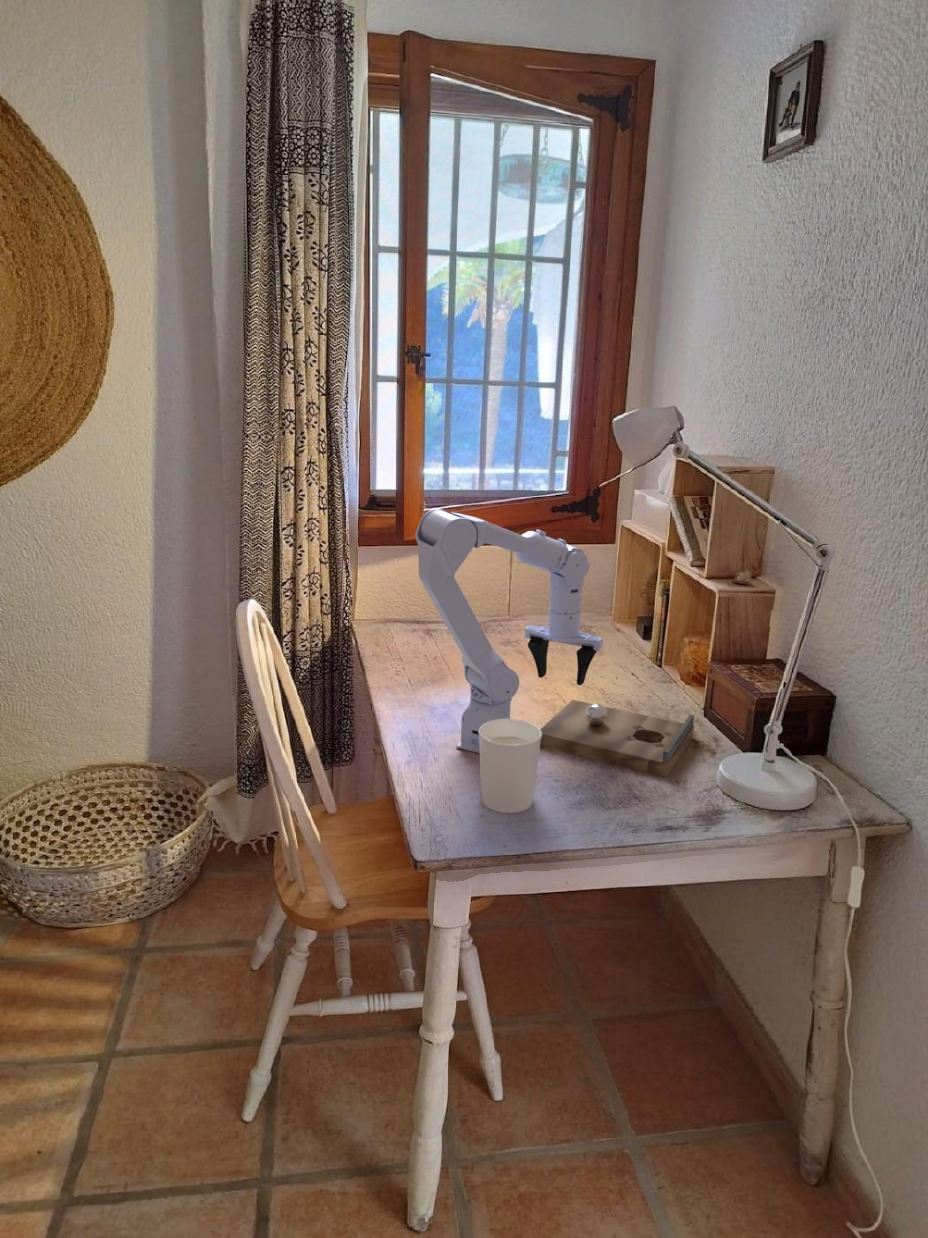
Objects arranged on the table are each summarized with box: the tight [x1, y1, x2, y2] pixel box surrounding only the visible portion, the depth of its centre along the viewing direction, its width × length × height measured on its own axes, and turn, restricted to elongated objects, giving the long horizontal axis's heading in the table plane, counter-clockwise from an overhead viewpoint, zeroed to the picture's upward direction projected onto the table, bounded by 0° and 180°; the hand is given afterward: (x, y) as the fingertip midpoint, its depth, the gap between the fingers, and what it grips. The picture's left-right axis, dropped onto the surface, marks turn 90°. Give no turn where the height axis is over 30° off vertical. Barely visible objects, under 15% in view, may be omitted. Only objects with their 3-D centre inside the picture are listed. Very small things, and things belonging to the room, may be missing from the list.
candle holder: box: [479, 718, 542, 814], centre depth 140 cm, size 10×10×12 cm
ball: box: [586, 703, 608, 725], centre depth 164 cm, size 4×4×4 cm
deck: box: [540, 699, 695, 778], centre depth 163 cm, size 24×18×4 cm
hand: (561, 679), depth 166 cm, fingers open, 7 cm apart
